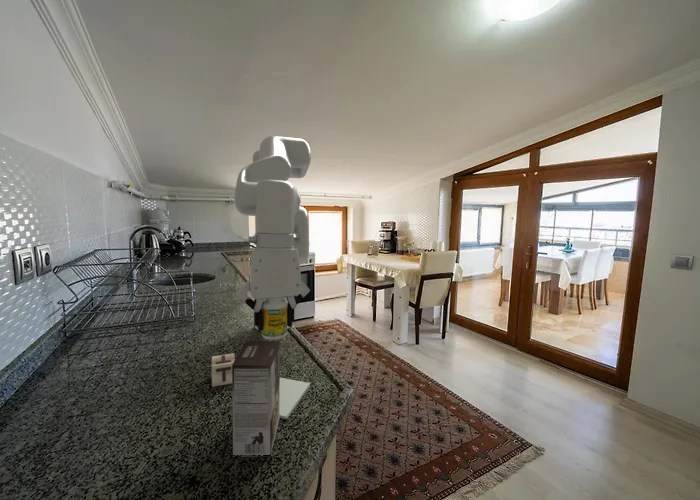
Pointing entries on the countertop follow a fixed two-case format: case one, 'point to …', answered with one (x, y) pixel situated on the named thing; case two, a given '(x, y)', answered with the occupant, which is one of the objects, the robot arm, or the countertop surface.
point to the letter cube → (222, 369)
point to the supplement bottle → (274, 318)
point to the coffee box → (256, 397)
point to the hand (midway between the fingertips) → (274, 325)
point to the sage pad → (290, 395)
